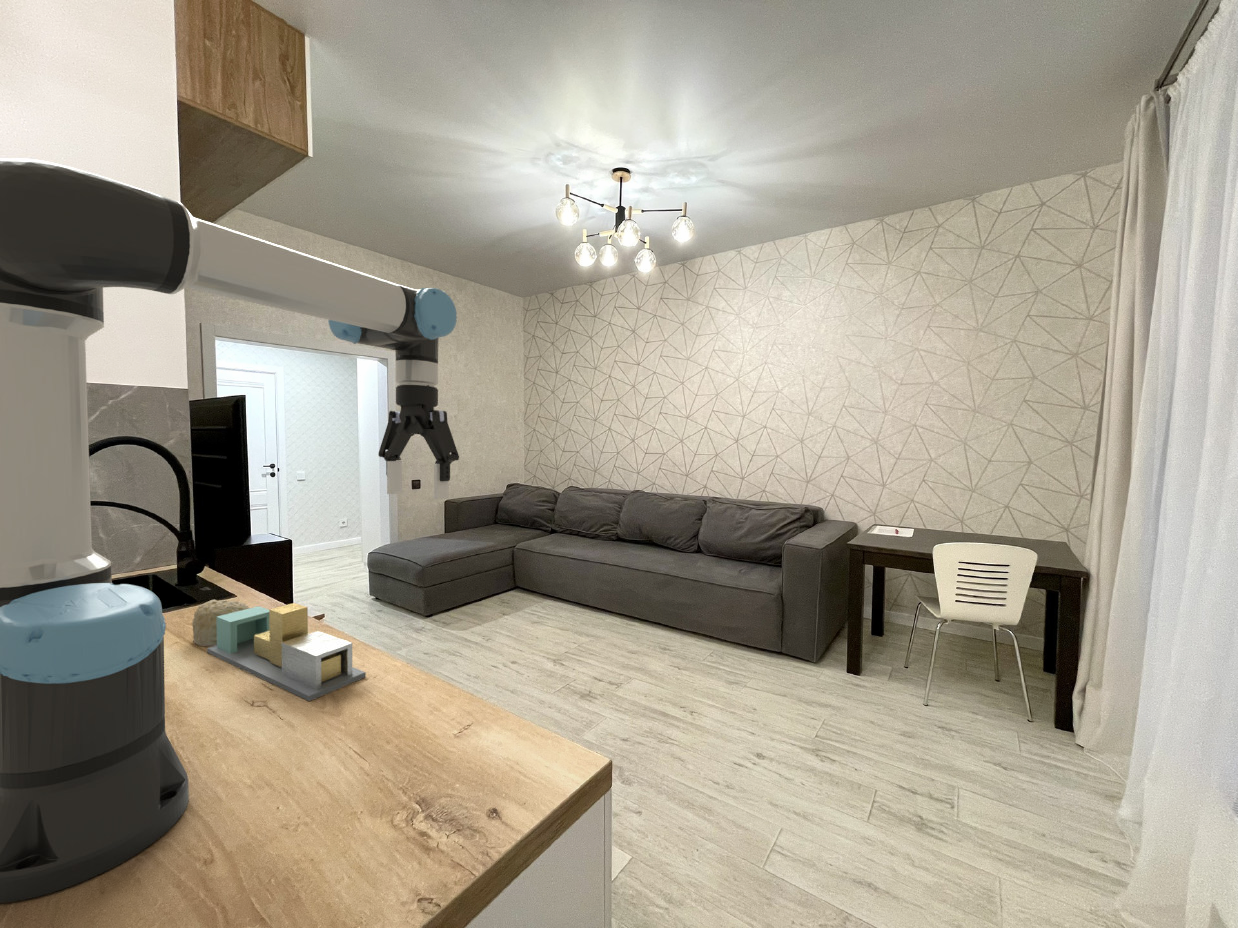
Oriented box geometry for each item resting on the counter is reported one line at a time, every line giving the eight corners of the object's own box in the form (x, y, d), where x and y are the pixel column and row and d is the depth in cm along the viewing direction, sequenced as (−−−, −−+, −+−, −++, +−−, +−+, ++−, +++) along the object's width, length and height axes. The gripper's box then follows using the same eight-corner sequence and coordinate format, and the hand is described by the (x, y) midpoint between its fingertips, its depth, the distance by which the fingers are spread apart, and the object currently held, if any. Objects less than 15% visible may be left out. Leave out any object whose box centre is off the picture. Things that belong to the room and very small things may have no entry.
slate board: (309, 701, 74) (309, 695, 74) (207, 652, 90) (206, 648, 90) (365, 676, 82) (365, 672, 82) (262, 636, 98) (262, 632, 98)
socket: (230, 653, 88) (230, 622, 88) (216, 647, 90) (216, 616, 90) (273, 640, 94) (272, 611, 94) (259, 634, 96) (258, 606, 96)
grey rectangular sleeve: (316, 689, 76) (315, 656, 76) (281, 674, 81) (281, 642, 81) (352, 674, 81) (352, 642, 81) (318, 660, 86) (318, 630, 86)
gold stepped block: (318, 683, 77) (317, 626, 77) (251, 654, 87) (250, 603, 87) (343, 673, 81) (343, 618, 80) (276, 646, 91) (275, 597, 90)
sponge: (221, 649, 101) (184, 612, 98) (268, 617, 104) (234, 580, 101) (206, 668, 92) (165, 628, 90) (257, 632, 96) (219, 593, 93)
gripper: (479, 385, 93) (478, 499, 94) (392, 389, 106) (392, 490, 107) (446, 380, 87) (446, 503, 88) (359, 385, 99) (359, 493, 100)
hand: (416, 496), depth 97 cm, fingers open, 13 cm apart
